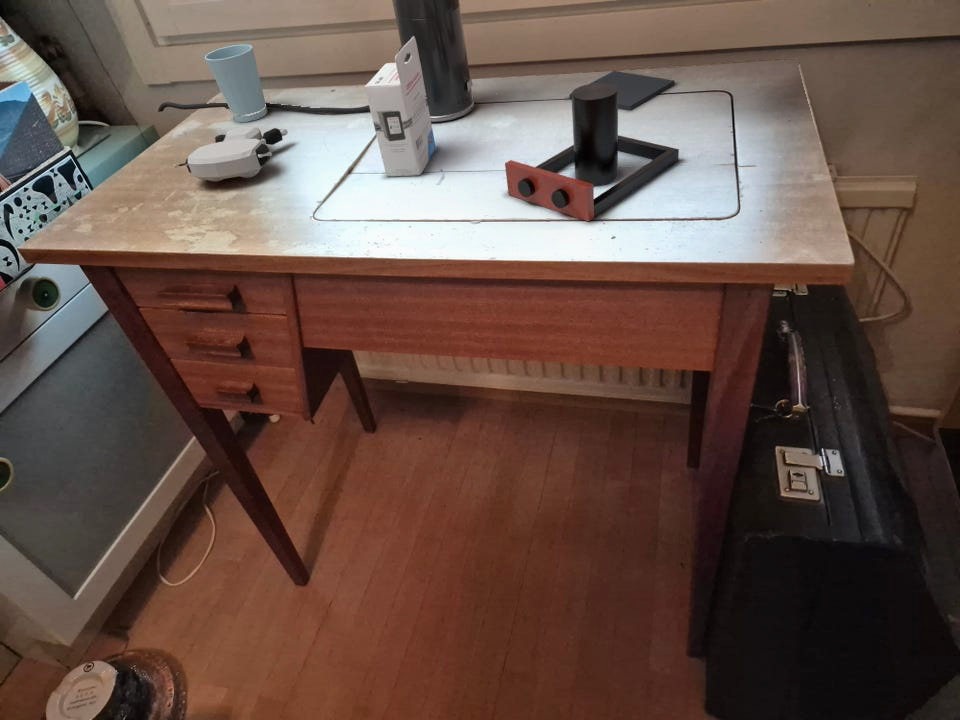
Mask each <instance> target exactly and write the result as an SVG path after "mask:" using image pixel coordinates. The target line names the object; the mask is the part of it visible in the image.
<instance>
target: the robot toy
mask: <svg viewBox="0 0 960 720" xmlns="http://www.w3.org/2000/svg"><path fill="white" fill-rule="evenodd" d="M288 133H289V132H288V130H287V129H286V128H276V127H273V128H271V129H268V130H267V131H265V132H264V133H263V134H262V132H261V129H260V128H259V127H258V126H252V125H249V126H241V127H237V128H236V127H235V128H232V129H230V130H229V131H228V132H227V134H218V135H216V136H215V137H214V141H215V142H213V143H209V144H206V145H203V146H200V147H197V148H196V149H195V150H194V151H193V152H191V153H190V154H189V155H188V156H187V158H186V160H185V162H183V163H175V164H173V168H175V169H176V168H179V167H183V166H186V168H187V170H188V173H190V174H191V175H192V177H194V178H196V179H199V180H201V181H202V180H203V181H204V180H207V181H210V182H220V181H223V180H224V179H231V178H237V177H241V178H243V179H251V178H253V177H255V176H257V174H259V173H260V171H261V169H262V168H263V167H264V166H265V164H266V163H268V161H269V160H270V159H271V157H272V156H273V154H272V151H270V149H269V146H268V145H270V146H273V145H276V144H278V143H279V142H281V141H283V140H284V139H283V137H284V136H287V135H288Z"/></svg>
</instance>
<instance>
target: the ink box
mask: <svg viewBox="0 0 960 720" xmlns="http://www.w3.org/2000/svg"><path fill="white" fill-rule="evenodd" d="M406 53H407V54H409V53H410V56H411V57H410V59H409V60H408V62H405V57H406ZM364 90H365V95H366V98H367V103H368V105H369V107H370V111H369V112H370V115H371V119H372V123H373V126H374V131H375V135H376V140H377V143H378V147H379V152H380V156H381V160H382V164H383V168H384V172H385V176H386V177H408V176H409V177H411V176H420V175H422V173H423V171H424V170H425V168H426V167H427V165H428V163H429V161H430V159H431V158H432V156H433V154H434V152H435V150H436V147H437V146H436V141H435V136H434V131H433V124H432V122H431V119H430V113H429V108H428V103H427V97H426V91H425V86H424V80H423V75H422V69H421V64H420V60H419V54H418V49H417V44H416V39H415V37H414V36H413V37H412V38H411V39H410V40H409V41H408V42H407V43H406V44H405V45H404V47H403V48H402V49H401V50H400V51H399V50H398V52H397V53H396V55H395V56H394V62H386V63H385V64H384V65H383V66H382V67H381V68H380V69H379V70H378V71H377V72H376V74H374V76H373V77H372V78H371V79H370V80H369V81H368V82H367V83H366V84H365V85H364Z"/></svg>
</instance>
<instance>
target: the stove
mask: <svg viewBox="0 0 960 720" xmlns="http://www.w3.org/2000/svg"><path fill="white" fill-rule="evenodd" d="M618 152H623V153H626V154H631V155H635V156H637V157H642V158H646V159H651V161H649V162H647V163H646V164H645V165H643V166H642V167H640V168H638V169H637V170H636V171H634V172H632V173H631V174H629V175H628V176H627V177H625V178H624V179H622V180H620V181H619V182H617V183H616V184H614V185H612V187H609V188H608V189H607V190H605V191H604V192H602V193H601V194H600V195H597V196H596V197H595V196H594V195H595V193H594V191H595V190H594V186H593V184H591V183H587V182H584V181H581V180H577V179H575V177H574V178H573V177H571V176H567V175H563V174H560V173H557V172H558V171H560V170H561V169H563V168H565V167H566V166H568V165H570V164H572V163H573V162H574V144H572V145H570V146H569V147H567V148H565V149H564V150H561V151H560V152H558V153H557V154H555V155H553V156H551V157H549V158H548V159H546V160H544V161H543V162H541V163H539V164H538V165H536V166H532V165H529V164H525V163H522V162H518V161H516V160H512V159H510V160H508V161H506V162H505V163H504V167H505V177H506V186H507V194H508V196H511V197H513V198H517V199H520V200H523V201H525V202H528V203H531V204H535V205H537V206H540V207H543V208H547V209H550V210H551V211H555V212H558V213H561V214H564V215H566V216H570V217H573V218H575V219H576V218H577V219H579V220H582V221H585V222H587V223H588V222H591V221H592V220H594V219H595V218H597V217H598V216H600V215H601V214H602V213H604V212H606V211H607V210H609V209H611V207H613V206H614V205H616V204H618V203H619V202H621V201H622V200H623V199H625V198H626V197H628V196H630V194H632V193H634V192H635V191H636V190H638V189H639V188H641V187H642V186H644V185H646V183H648V182H649V181H651V180H652V179H654V178H656V177H657V176H659V175H661V173H663V172H664V171H666V170H667V169H669V168H670V167H672V166H673V165H675V164H676V163H678V162H679V154H680V149H679V148H675V147H671V146H666V145H663V144H657V143H653V142H650V141H645V140H642V139H641V140H640V139H636V138H632V137H627V136H622V135H619V134H618Z"/></svg>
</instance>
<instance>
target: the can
mask: <svg viewBox="0 0 960 720" xmlns="http://www.w3.org/2000/svg"><path fill="white" fill-rule="evenodd" d="M571 93H572V99H571V111H572V114H571V115H572V133H573V134H572V135H573V136H572V137H573V145H574V161H573V162H574V179H577V180H581V181H584V182H587V183H591V184H593V187H600V186H605V185H608V184H610V183H612V182H614V181H615V180H617V178H618V174H619V151H618V135H619V108H618V88H617V87H616V86H614V85H612V84H607V83H593V84H590V83H588V84H587V83H586V84H583V85H581V86H578V87H576V88H575V89H573V90H572V91H571Z"/></svg>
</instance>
